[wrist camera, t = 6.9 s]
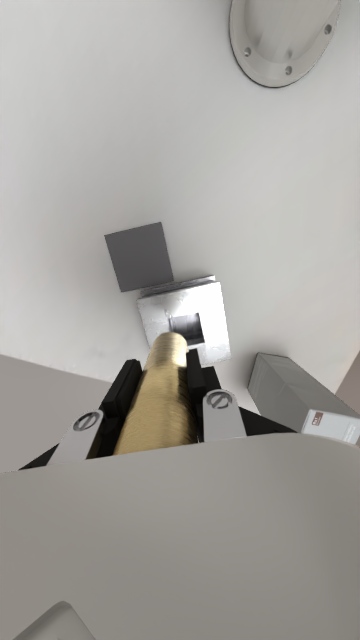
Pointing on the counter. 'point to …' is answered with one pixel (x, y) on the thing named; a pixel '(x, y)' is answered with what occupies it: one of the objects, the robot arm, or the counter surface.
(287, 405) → the skincare box
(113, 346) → the counter surface
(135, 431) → the pin
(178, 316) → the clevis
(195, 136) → the counter surface
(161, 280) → the mat
